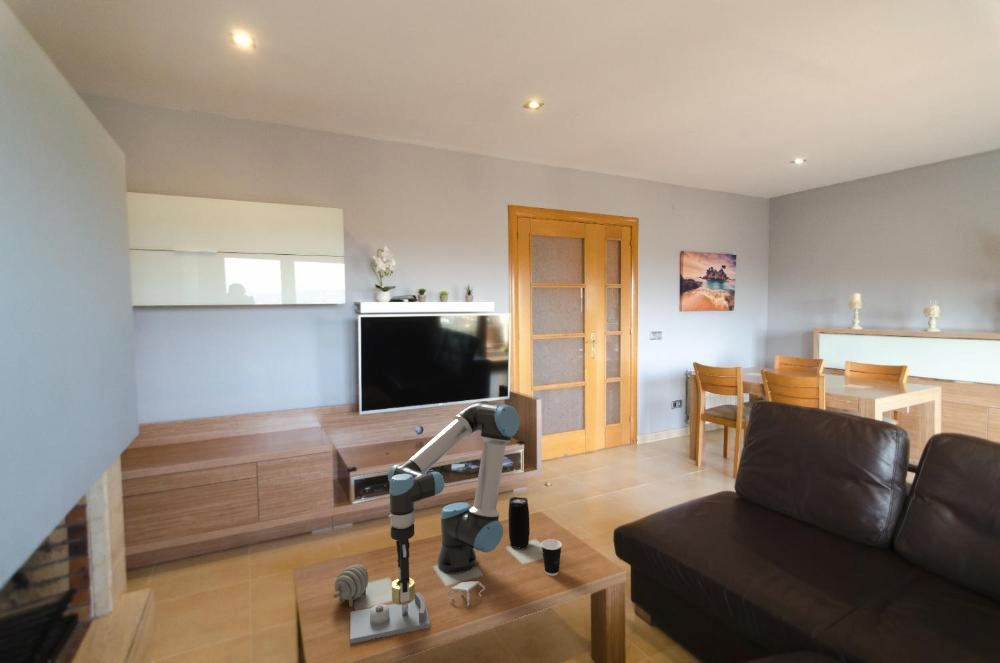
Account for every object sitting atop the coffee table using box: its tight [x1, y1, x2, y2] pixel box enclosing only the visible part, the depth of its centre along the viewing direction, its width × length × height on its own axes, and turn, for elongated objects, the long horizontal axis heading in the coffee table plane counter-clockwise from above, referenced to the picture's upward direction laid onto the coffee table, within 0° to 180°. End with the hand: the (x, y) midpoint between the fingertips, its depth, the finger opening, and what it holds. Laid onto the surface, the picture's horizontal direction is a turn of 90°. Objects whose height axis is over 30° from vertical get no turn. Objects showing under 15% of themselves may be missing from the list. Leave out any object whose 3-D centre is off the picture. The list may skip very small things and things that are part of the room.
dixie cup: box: [540, 538, 563, 577], centre depth 184 cm, size 8×8×11 cm
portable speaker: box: [508, 496, 530, 550], centre depth 206 cm, size 9×9×20 cm
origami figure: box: [447, 580, 486, 607], centre depth 168 cm, size 12×8×5 cm
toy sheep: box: [333, 564, 370, 608], centre depth 169 cm, size 11×17×11 cm, turn 165°
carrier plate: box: [349, 591, 431, 644], centre depth 157 cm, size 24×14×5 cm, turn 106°
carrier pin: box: [402, 604, 408, 616], centre depth 158 cm, size 2×2×4 cm
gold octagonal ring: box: [391, 577, 416, 605], centre depth 158 cm, size 7×7×5 cm
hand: (403, 593), depth 158 cm, fingers closed on gold octagonal ring, 7 cm apart
